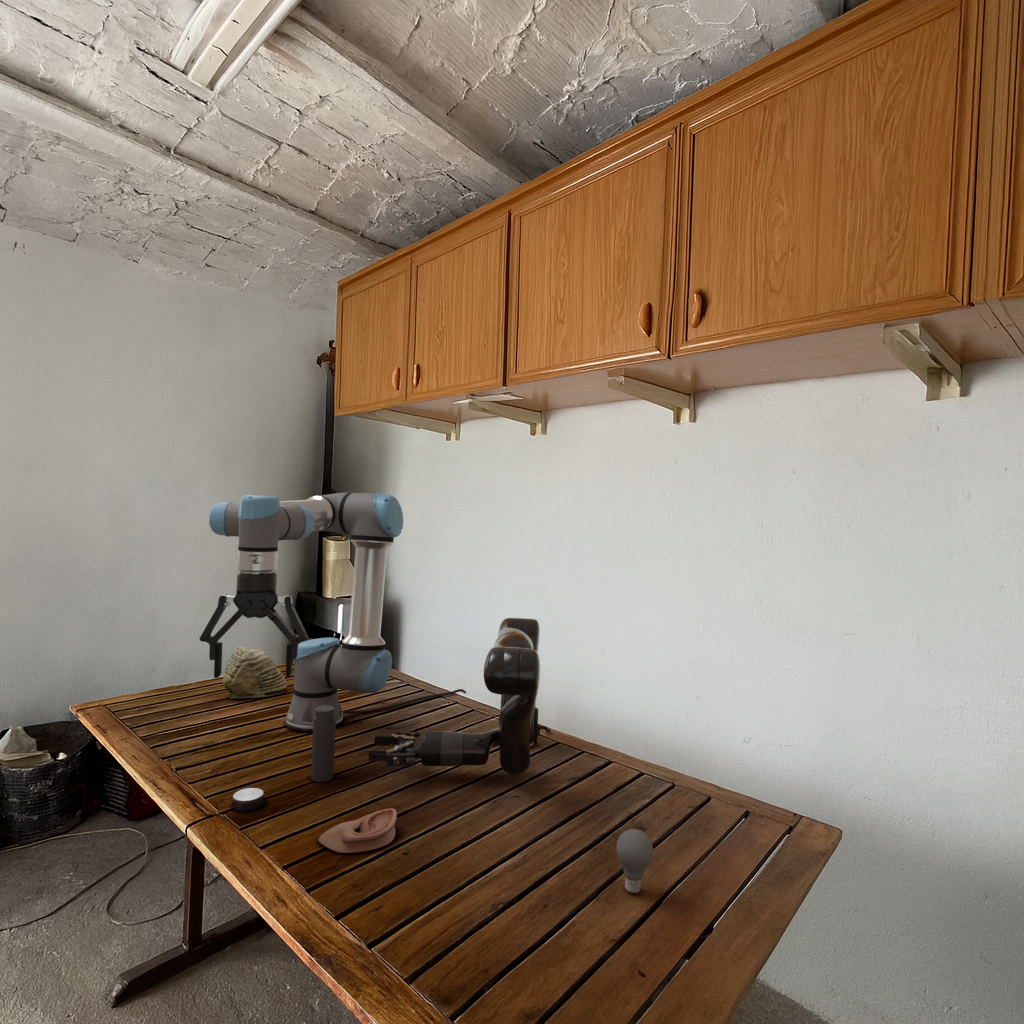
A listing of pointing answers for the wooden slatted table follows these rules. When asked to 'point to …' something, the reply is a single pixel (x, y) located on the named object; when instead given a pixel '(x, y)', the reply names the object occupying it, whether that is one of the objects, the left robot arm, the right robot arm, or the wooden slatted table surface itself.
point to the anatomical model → (362, 833)
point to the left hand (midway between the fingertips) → (253, 675)
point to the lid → (248, 799)
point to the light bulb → (634, 857)
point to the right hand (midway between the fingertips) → (371, 747)
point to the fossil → (252, 674)
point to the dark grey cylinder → (323, 743)
